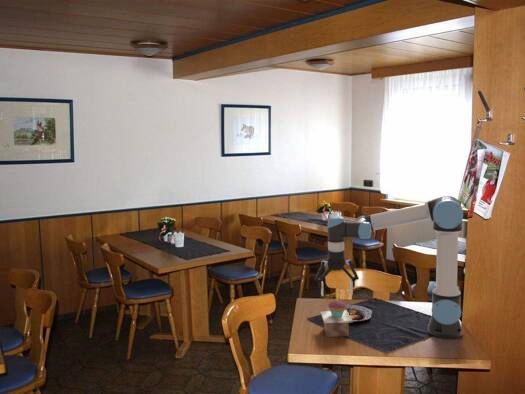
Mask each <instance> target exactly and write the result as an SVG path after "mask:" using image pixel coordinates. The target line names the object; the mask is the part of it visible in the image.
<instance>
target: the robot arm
mask: <svg viewBox="0 0 525 394" xmlns="http://www.w3.org/2000/svg"><path fill="white" fill-rule="evenodd" d="M463 218H464V210H463V207H462V204H461V203H460V201H459V200H458V199H457V198H455V197H454V196H452V195H451V196H450V195H442V196H440V197H437V198H434V199H429V200H426V201H425V202H424V203H421V204H417V205H412V206H407V207H403V208H399V209H393V210H387V211H384V212H379V213H372V214H369V215H360V216H358V217H356V218H355V220H354V221H347V220H346V221H345V218H344V216H339V215H338V216H336V215H335V216H330V217H328V219H327V249H328V251H327V260H323V259H322V260H321V262H320V266H319V268H318V270H317V273H316V275H315V276H314V281H315V282H317V283H318V289H319V290H320V295H321V297H324V296H325V295H324V282H323V281H324V280H325V278H326V277H327V276H328V275H329V274H330V272H332V271H341V270H342V271H343V272H344V273H345V274H346V275H347V276H348V277H349V278H350V279H349V294H350V296H353V293H354V288H356V281H357V280H359V277H360V276H358V274H357V272H356V270H355V268H354V266H353V263H352V260H351V259H350V258H349V259H348V260H345V257H346V256H345V255H346V254H345V239H361V240H363V239H368V240H369V239H370V238H371V236H372V232H373V231H374V232H375V231H379V230H384V229H388V228H393V227H394V228H395V227H399V226H404V225H409V224H410V225H411V224H414V223H418V222H424V221H429V222H432V223H433V225H432V229H433V231H434V232H435V233H436V259H435V260H436V271H435V273H436V274H435V276H436V277H435V283H434V284H432V289H431V291H432V292H431V293H432V294H431V295H432V297H431V300H432V301H431V316H430V319H429V321H428V323H427V324H428V325H427V332H428V334H430V335H431V336H434V337H436V338H439V339H448V340H452V339H459V338H460V337H462V336H463V328H462V326H461V325H462V324H461V321H460V318H461V316H462V308H461V301H462V299H461V295H462V293H461V290H460V287H459V286H458V258H459V257H458V256H459V255H458V252H459V250H458V249H459V235H460V233H461V232H462V231H463ZM346 264H347V265H348V266H349V269H350V270H351V272H352V274H353V275H352V274H351V273H350V272H349V270H348V269H347V268H346V267H345V265H346ZM326 265H328V267H327V268H326V269H325V271H323V270H324V268H325V267H326ZM322 272H323V273H322Z"/></svg>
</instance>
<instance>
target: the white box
mask: <svg viewBox="0 0 525 394" xmlns="http://www.w3.org/2000/svg"><path fill="white" fill-rule="evenodd" d="M319 313H320V316H321V319H322V320H323V330H324V332H325V335H326V337H327V338H331V337H332V338H333V337H338V336H340V337H350V336H349V335H350V330H349V329H350V326H349V325H350V323H354V322H353V320H352V318H351V317H350V315H349V310H347V311H344V312H343V315H342V317H339V318H336V317H333V316H332V314H331V311H326V310H324V311H319Z"/></svg>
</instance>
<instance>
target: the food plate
mask: <svg viewBox="0 0 525 394" xmlns="http://www.w3.org/2000/svg"><path fill="white" fill-rule="evenodd" d="M345 304H346V303H345ZM325 311H330V310H329V308H328V307H327V308H326V309H325ZM344 311H348V313H349V314H350V317H351V318H352V320H353V322H352V323H354V322H364V321H367V320H370V319H371V318H372V315H373V311H372V309H370V308H367V307H365V306H362V305H357V304H346V310H344ZM358 311H359V312H358ZM355 314H358V315H355Z"/></svg>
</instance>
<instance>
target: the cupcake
mask: <svg viewBox="0 0 525 394" xmlns="http://www.w3.org/2000/svg"><path fill="white" fill-rule="evenodd" d="M335 290H336V291H335V300H332V301H331V302H330V303H328V307H327V308H329V310H330V311H331V314H332V316H333V317H336V318H339V317H342V315H343V312H344V310H346V303H345V302H343V300H342V301H341V300H338V291H337V290H338V289H335Z"/></svg>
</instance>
